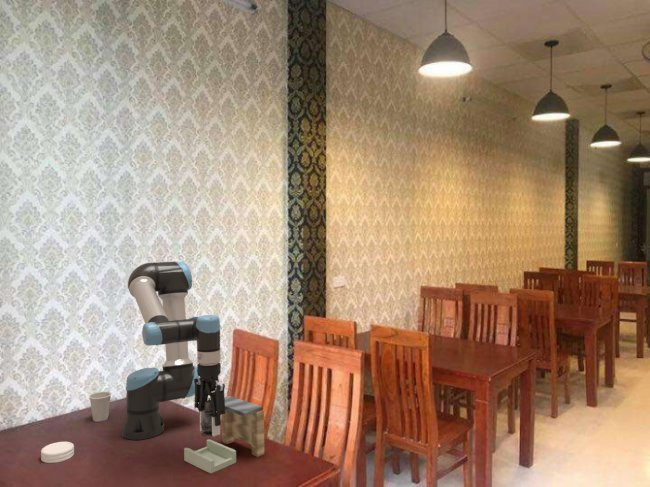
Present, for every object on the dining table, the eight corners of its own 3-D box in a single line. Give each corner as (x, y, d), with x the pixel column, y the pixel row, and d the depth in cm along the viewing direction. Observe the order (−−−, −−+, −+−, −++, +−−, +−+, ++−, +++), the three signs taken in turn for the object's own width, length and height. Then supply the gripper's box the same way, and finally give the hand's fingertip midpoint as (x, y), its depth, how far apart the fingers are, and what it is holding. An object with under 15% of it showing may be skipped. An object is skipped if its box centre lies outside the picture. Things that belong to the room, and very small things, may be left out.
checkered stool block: (211, 446, 183) (210, 401, 183) (228, 439, 189) (228, 395, 189) (246, 461, 171) (245, 413, 170) (264, 453, 177) (263, 407, 176)
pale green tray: (184, 460, 172) (184, 448, 172) (209, 450, 180) (209, 439, 180) (210, 473, 163) (210, 461, 162) (236, 462, 170) (236, 450, 170)
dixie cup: (84, 421, 208) (84, 397, 207) (99, 414, 216) (99, 390, 215) (102, 423, 205) (101, 398, 205) (116, 416, 213) (115, 392, 213)
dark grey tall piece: (214, 437, 167) (213, 400, 167) (197, 436, 168) (196, 400, 168) (221, 430, 173) (221, 395, 173) (205, 429, 174) (204, 394, 174)
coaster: (80, 454, 177) (80, 444, 177) (52, 466, 169) (52, 455, 169) (62, 448, 182) (62, 438, 182) (34, 459, 174) (34, 449, 174)
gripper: (182, 360, 174) (183, 429, 174) (217, 369, 161) (218, 443, 162) (201, 356, 179) (202, 422, 180) (236, 365, 167) (237, 436, 167)
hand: (210, 432), depth 171 cm, fingers closed on dark grey tall piece, 6 cm apart
